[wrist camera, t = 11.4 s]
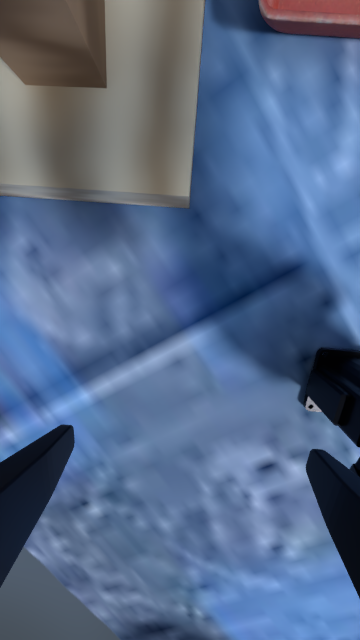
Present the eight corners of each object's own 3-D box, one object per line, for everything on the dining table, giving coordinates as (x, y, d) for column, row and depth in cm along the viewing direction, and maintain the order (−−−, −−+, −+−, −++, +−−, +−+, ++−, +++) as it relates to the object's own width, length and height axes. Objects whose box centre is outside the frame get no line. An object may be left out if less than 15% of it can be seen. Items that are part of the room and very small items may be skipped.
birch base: (211, -86, 12) (218, -192, 9) (189, 208, 17) (189, 196, 14) (-46, -93, 13) (-115, -198, 10) (-5, 195, 17) (-45, 180, 14)
